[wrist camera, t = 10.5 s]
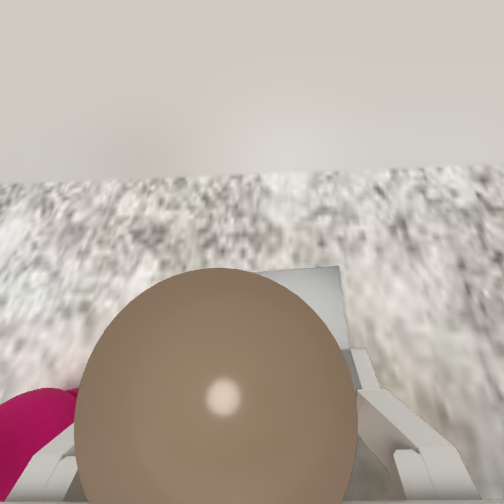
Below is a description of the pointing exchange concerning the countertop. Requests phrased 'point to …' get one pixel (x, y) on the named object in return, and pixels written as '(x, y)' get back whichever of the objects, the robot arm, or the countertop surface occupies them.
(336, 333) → the pad
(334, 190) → the countertop surface
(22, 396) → the pepper mill
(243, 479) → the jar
